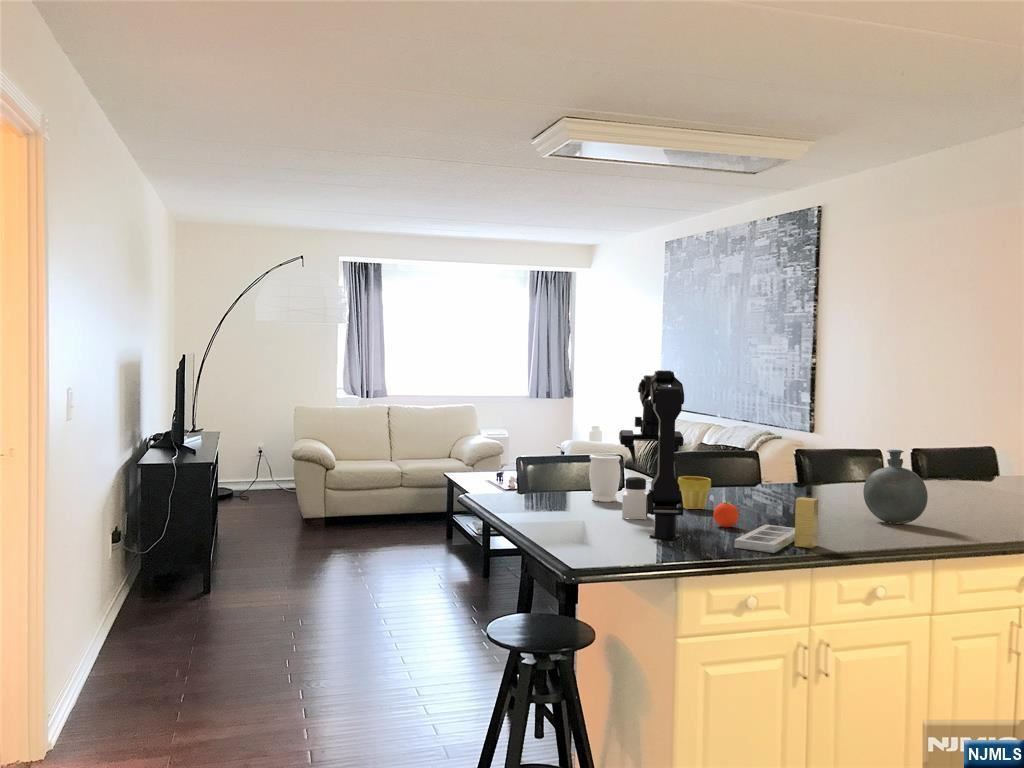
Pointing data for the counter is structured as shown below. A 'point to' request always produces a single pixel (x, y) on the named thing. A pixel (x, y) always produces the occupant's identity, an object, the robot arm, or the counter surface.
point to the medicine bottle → (635, 499)
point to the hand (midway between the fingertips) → (649, 464)
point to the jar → (604, 477)
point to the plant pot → (694, 491)
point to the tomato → (726, 514)
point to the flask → (895, 492)
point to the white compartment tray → (766, 538)
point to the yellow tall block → (806, 522)
